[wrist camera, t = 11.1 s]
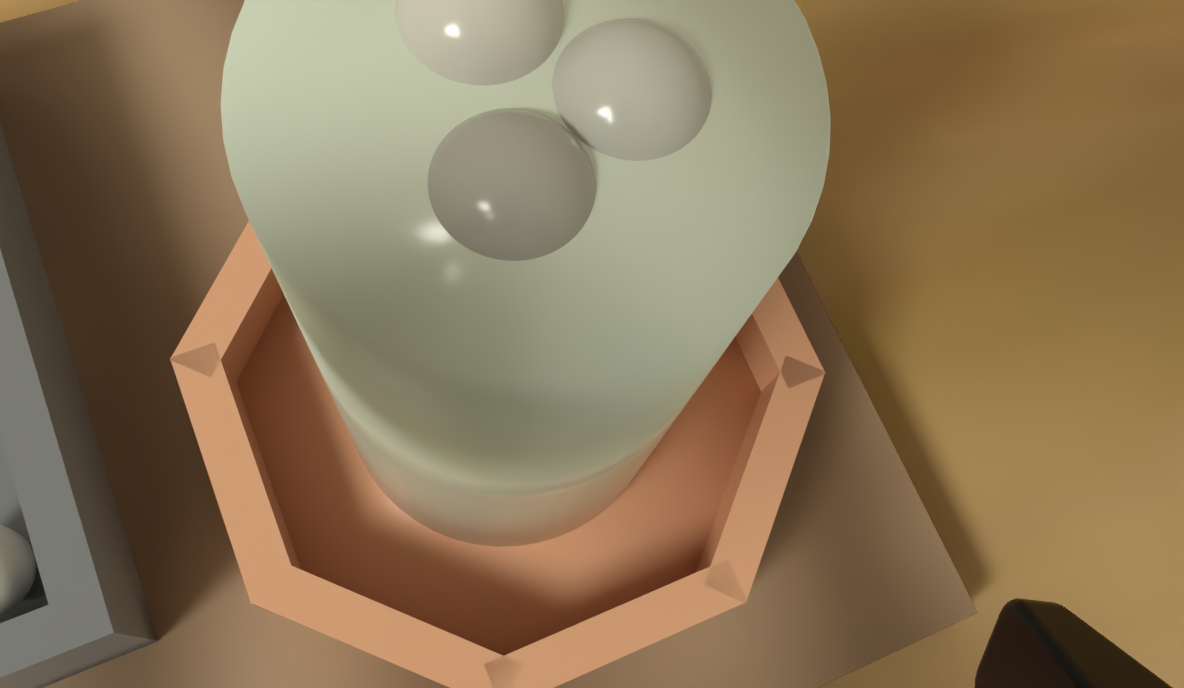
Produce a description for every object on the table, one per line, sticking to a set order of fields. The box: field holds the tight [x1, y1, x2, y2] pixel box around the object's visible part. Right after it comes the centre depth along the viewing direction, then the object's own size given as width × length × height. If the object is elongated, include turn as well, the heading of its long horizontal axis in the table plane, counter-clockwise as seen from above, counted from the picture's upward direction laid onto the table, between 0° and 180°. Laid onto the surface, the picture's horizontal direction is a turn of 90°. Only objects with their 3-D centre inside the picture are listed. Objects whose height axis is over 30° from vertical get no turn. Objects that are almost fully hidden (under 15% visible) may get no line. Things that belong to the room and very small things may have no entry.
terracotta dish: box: [170, 221, 826, 688], centre depth 21 cm, size 11×11×2 cm
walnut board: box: [0, 0, 978, 688], centre depth 21 cm, size 29×19×1 cm, turn 113°
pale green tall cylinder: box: [221, 0, 831, 547], centre depth 16 cm, size 6×6×12 cm
